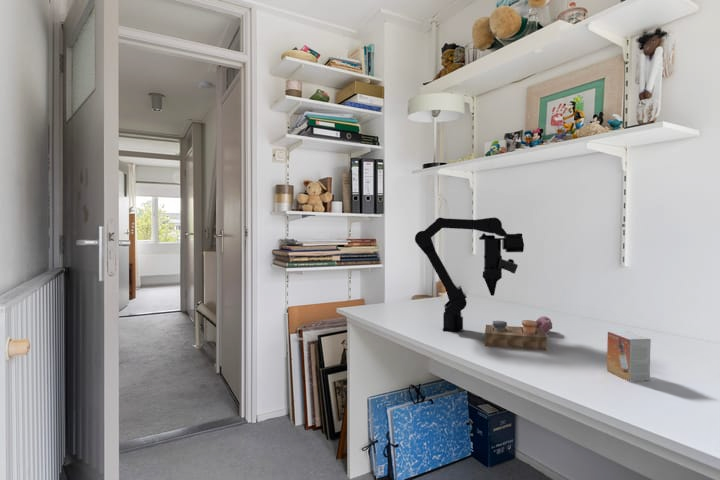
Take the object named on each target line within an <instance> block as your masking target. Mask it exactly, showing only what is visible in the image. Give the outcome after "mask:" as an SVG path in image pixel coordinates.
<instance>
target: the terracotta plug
mask: <svg viewBox="0 0 720 480" xmlns="http://www.w3.org/2000/svg"><path fill="white" fill-rule="evenodd" d="M521 325H522V327H523V333H531V334H535V326H537V322H536V320H530V319H525V320H521Z"/></svg>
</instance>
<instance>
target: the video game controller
mask: <svg viewBox="0 0 720 480" xmlns="http://www.w3.org/2000/svg"><path fill="white" fill-rule="evenodd" d="M535 321H536V322H537V326H535V328H543V330H544V333H545V335H546V333H548V332H550V330H552V329H553V323H552V320H551V319H550V318H549V317H547V316H542V315H541V316H540V317H539V318H538V319H536V320H535Z"/></svg>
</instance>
